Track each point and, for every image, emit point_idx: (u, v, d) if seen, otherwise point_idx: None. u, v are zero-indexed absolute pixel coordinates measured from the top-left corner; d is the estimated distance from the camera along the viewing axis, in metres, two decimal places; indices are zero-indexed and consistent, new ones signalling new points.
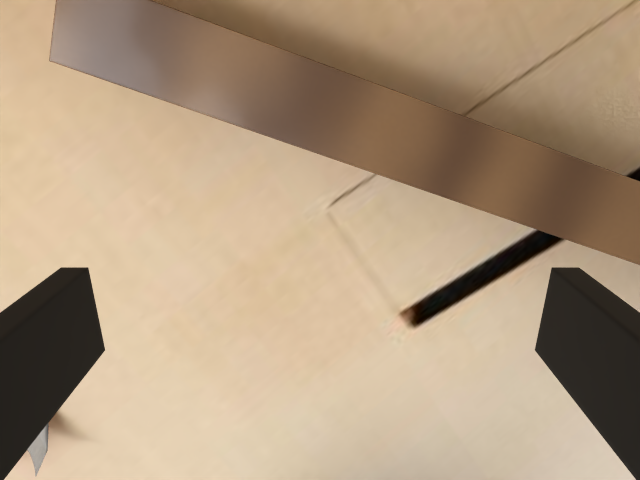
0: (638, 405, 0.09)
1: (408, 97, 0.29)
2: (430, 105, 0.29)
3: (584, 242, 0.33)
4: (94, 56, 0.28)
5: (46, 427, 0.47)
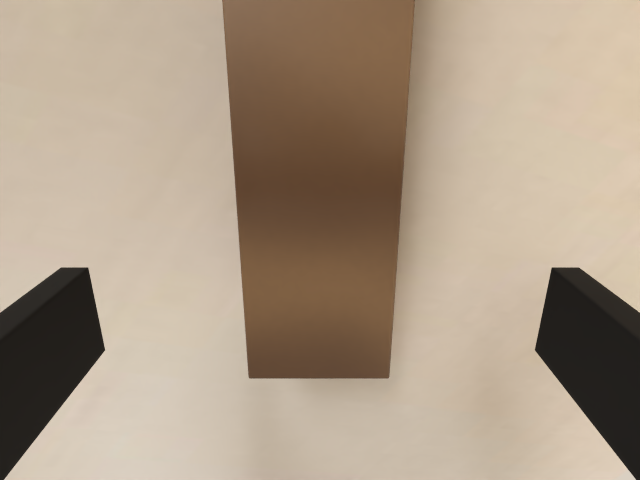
0: (638, 405, 0.09)
1: None
2: None
3: None
4: None
5: None
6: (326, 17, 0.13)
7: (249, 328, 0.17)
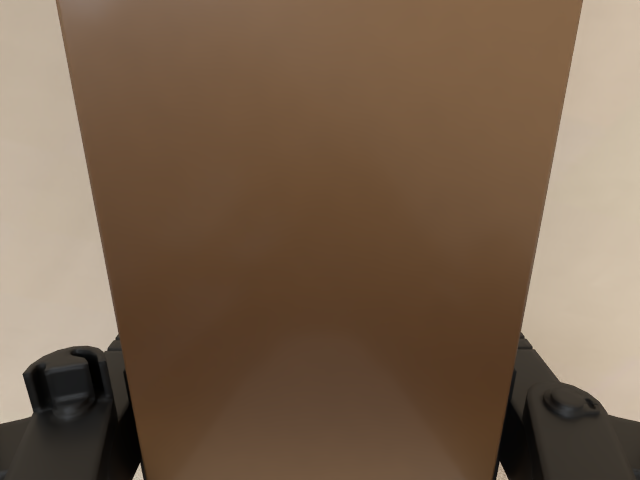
0: None
1: None
2: None
3: None
4: None
5: None
6: None
7: None
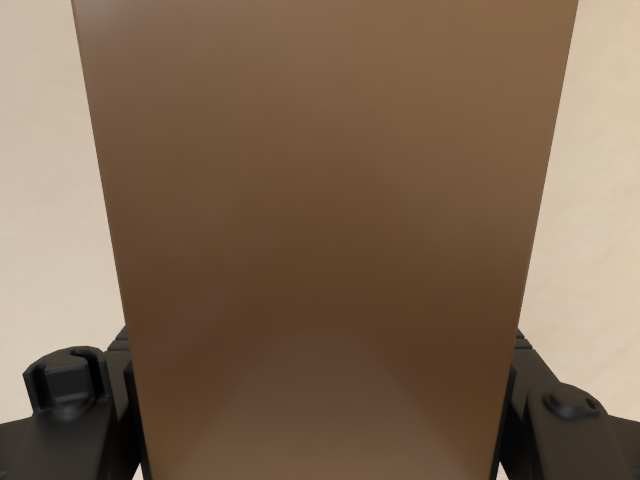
0: None
1: None
2: None
3: None
4: None
5: None
6: None
7: None
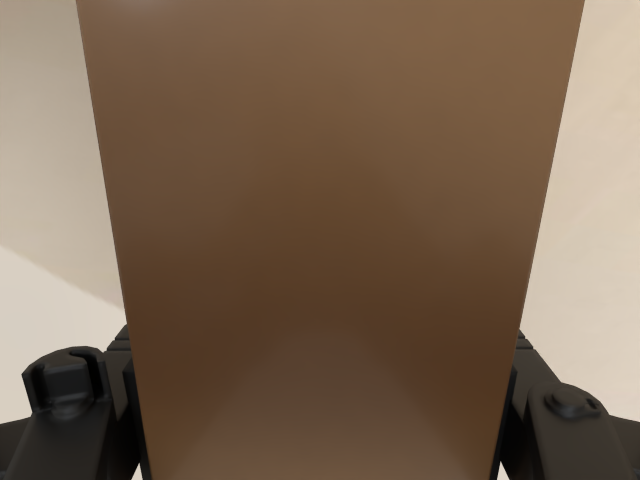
0: None
1: None
2: None
3: None
4: None
5: None
6: None
7: None
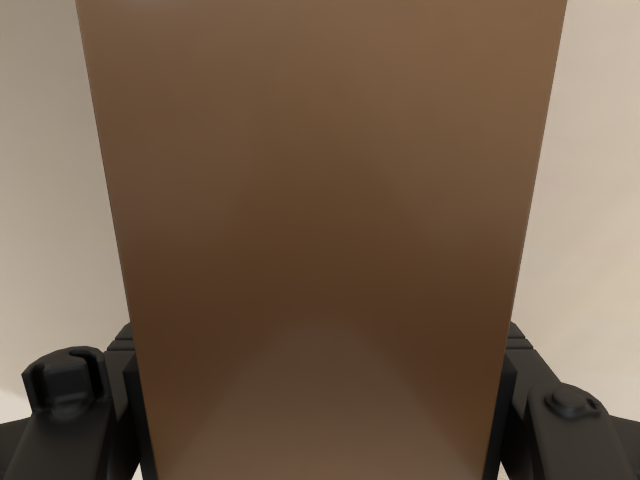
0: None
1: None
2: None
3: None
4: None
5: None
6: None
7: None
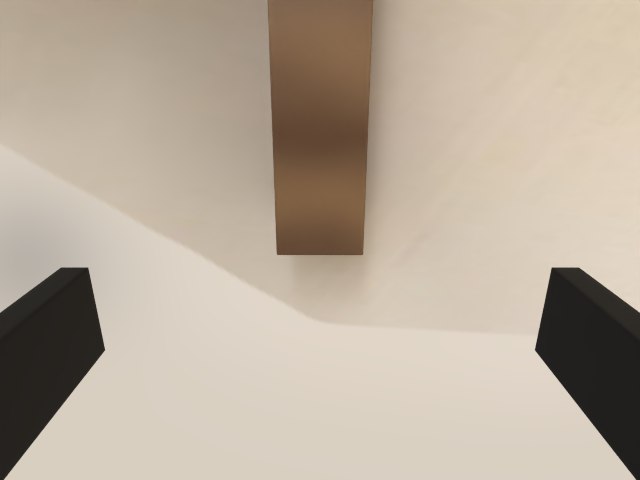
0: (639, 405, 0.09)
1: None
2: None
3: None
4: None
5: None
6: (324, 37, 0.24)
7: (278, 221, 0.28)
